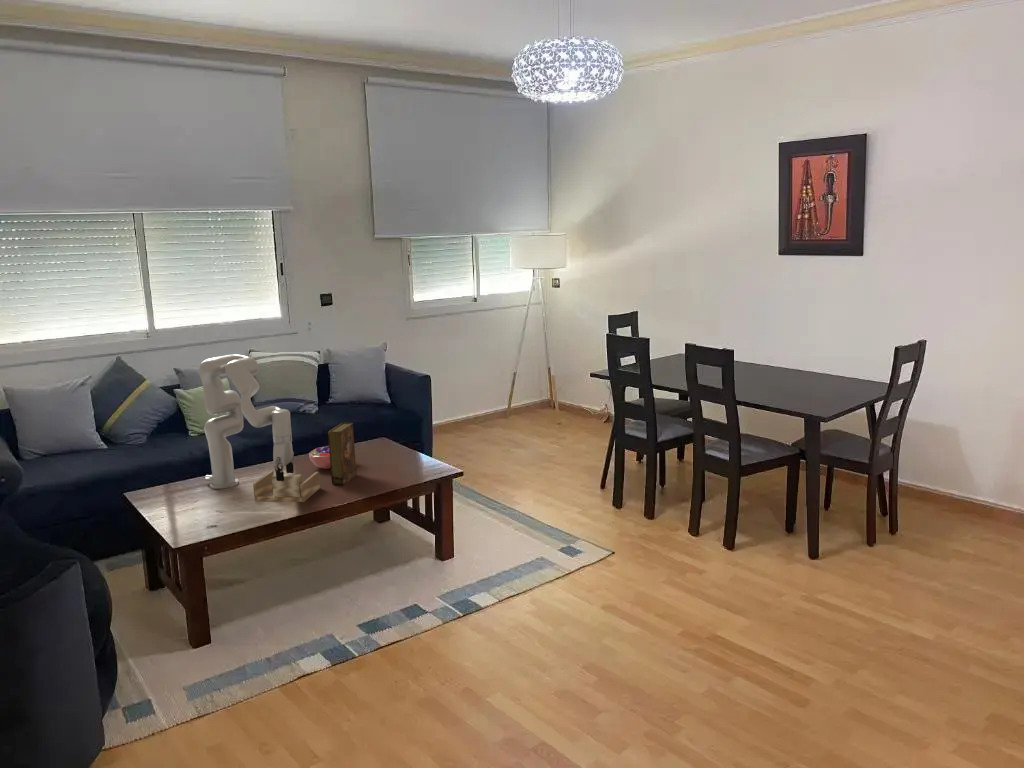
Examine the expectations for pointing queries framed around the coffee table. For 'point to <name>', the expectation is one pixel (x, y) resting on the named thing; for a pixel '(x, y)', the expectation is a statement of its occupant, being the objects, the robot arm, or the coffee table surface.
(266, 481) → the pine rack
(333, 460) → the book
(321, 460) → the cell model
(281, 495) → the birch sheet
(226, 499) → the coffee table surface
